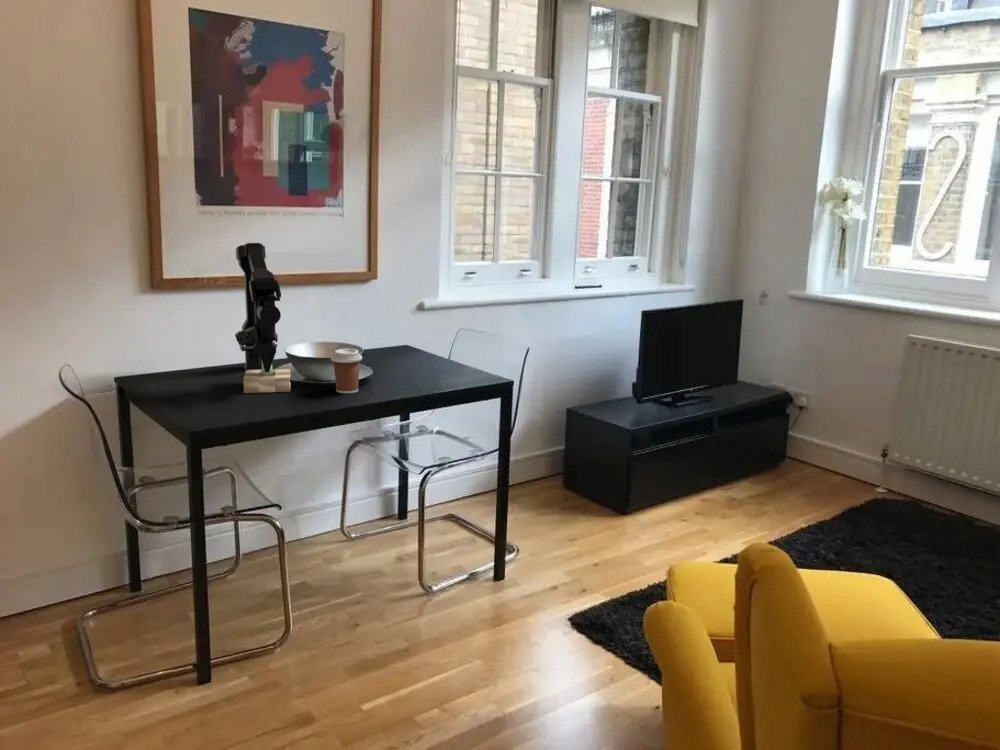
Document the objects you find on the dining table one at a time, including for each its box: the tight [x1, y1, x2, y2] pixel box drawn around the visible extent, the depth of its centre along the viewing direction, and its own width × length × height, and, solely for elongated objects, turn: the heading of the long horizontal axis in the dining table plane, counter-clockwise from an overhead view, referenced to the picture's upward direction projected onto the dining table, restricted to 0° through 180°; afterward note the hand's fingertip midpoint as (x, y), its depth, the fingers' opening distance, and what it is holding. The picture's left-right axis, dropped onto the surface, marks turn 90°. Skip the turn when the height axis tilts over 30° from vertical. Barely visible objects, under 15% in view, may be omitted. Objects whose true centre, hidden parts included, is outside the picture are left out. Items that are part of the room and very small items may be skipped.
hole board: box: [242, 368, 292, 394], centre depth 250 cm, size 12×13×4 cm
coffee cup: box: [330, 348, 363, 394], centre depth 248 cm, size 9×9×12 cm
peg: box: [261, 359, 273, 376], centre depth 249 cm, size 3×3×9 cm
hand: (267, 370), depth 249 cm, fingers closed on peg, 3 cm apart
